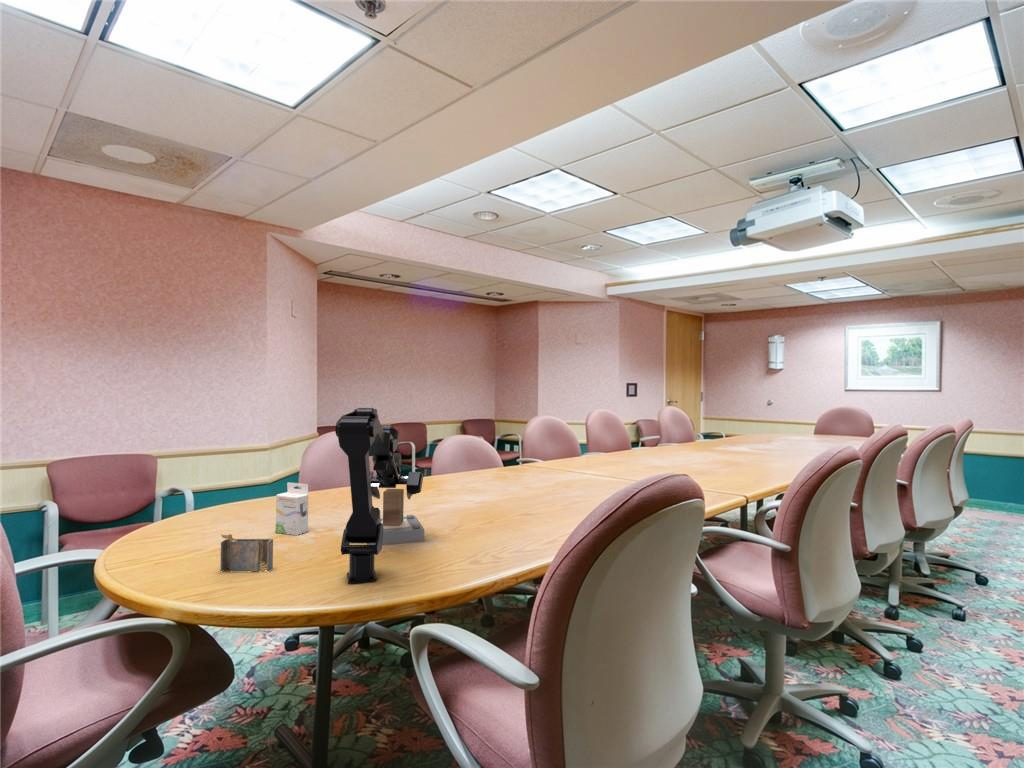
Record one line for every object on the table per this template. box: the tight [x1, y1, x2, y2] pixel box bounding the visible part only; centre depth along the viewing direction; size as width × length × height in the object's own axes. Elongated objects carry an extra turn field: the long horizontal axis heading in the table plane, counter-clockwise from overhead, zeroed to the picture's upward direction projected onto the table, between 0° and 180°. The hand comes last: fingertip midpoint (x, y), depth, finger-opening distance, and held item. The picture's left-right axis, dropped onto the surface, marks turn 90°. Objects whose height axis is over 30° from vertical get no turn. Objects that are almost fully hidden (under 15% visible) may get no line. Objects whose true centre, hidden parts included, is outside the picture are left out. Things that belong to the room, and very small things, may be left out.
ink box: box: [275, 481, 309, 536], centre depth 161 cm, size 9×5×15 cm, turn 71°
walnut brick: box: [382, 488, 405, 526], centre depth 158 cm, size 5×5×10 cm
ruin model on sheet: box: [219, 533, 274, 573], centre depth 128 cm, size 11×3×10 cm, turn 92°
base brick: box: [366, 514, 425, 546], centre depth 158 cm, size 16×16×4 cm
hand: (394, 497), depth 159 cm, fingers open, 9 cm apart
